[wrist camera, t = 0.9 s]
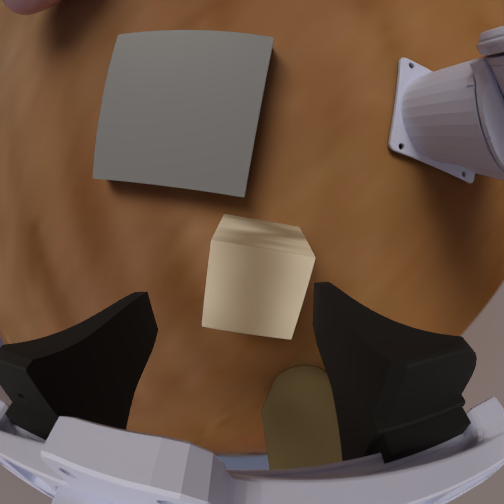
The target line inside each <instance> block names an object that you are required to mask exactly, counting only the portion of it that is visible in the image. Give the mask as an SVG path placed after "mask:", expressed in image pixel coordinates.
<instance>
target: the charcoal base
mask: <svg viewBox="0 0 504 504" xmlns="http://www.w3.org/2000/svg"><path fill="white" fill-rule="evenodd" d="M273 41H274V37H268V36H261V35H254V34H246V33H237V32H225V31H208V30H164V31H147V32H136V33H127V34H119V35H118V37H117V41H116V44H115V47H114V51H113V55H112V58H111V62H110V66H109V70H108V74H107V79H106V83H105V88H104V93H103V98H102V103H101V109H100V115H99V122H98V129H97V136H96V145H95V154H94V166H93V178H94V179H105V180H116V181H126V182H135V183H144V184H153V185H161V186H169V187H177V188H184V189H192V190H199V191H206V192H212V193H219V194H225V195H231V196H238V197H245V193H246V187H247V182H248V176H249V170H250V165H251V159H252V153H253V148H254V142H255V137H256V131H257V126H258V120H259V115H260V110H261V104H262V99H263V94H264V88H265V83H266V78H267V73H268V68H269V63H270V57H271V52H272V47H273Z"/></svg>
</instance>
